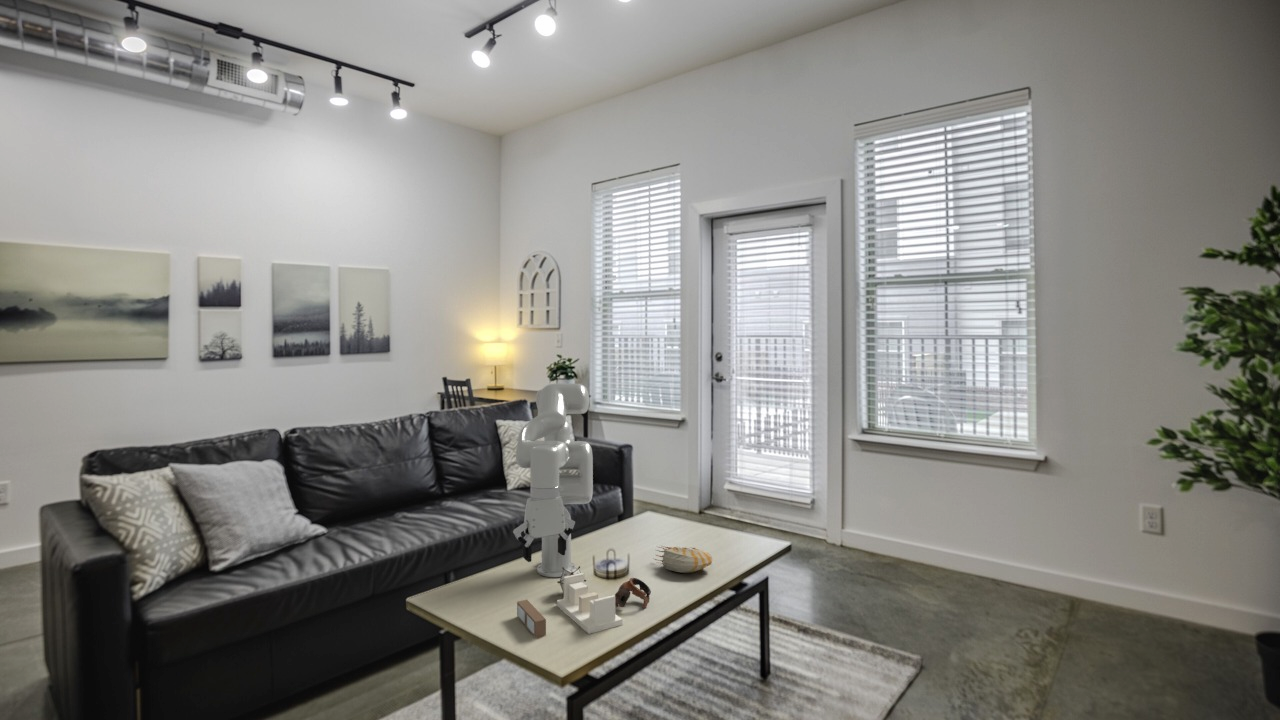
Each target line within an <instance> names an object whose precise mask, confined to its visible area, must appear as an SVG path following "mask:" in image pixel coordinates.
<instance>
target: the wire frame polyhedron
mask: <svg viewBox="0 0 1280 720" xmlns="http://www.w3.org/2000/svg"><path fill="white" fill-rule="evenodd" d="M562 569H563V573H562V576H561V577H560V578H559V581H557V582H556V583H557V584H559V585H560V587H561V590H562V592H563V595H562V597H563V598H564V577H566V576H570V575H575V574H580V573H582V572H581V571H580V569H581V566H580V565H579V566H578V567H577V568H576V569H564V567H562ZM587 581H588V580H586V579H584V583H585V582H587Z"/></svg>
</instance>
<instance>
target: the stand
mask: <svg viewBox="0 0 1280 720" xmlns="http://www.w3.org/2000/svg"><path fill="white" fill-rule="evenodd" d="M584 580H585V573H584V572H581V573H580V574H575V575H570V576H566V577H564V593H563V595H564V597H563V598H561V599H557V600H556V606H557V607H558V608H559V609H560V610H561V611H562V612H563V613H564V614H566V615H567V616H568V617H569V618H571V620H572V621H574V622H575V623H576V624H577V625H578V626H579V627H580V628H581V629H582V630H584V631H585V632H586V633H587V634H588V635H589V634H594V633H598V632H601V631H605V630H608V629H612V628H616V627H619V626H623V618H622V617H620V616H619V615H617V614H616V605H615V595H614V594H613V595H608V596H604V597H599V593H597V592H596V591H595V592H588V590H589V589H588V585H586V584H585V582H584Z"/></svg>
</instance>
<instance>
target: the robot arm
mask: <svg viewBox="0 0 1280 720" xmlns="http://www.w3.org/2000/svg"><path fill="white" fill-rule="evenodd" d="M535 403H536V408H537V416H535V417H533V418H532V419H531V420H530V421H528V422H527V423H526V424H525V425H524V426H523V427H522V428H521V430H520V432H519V434H518V438H517V444H516V449H515V450H516V451H515V461H516V463H517V465H518V466H519V467H520V468H523V469H530V497H527V499H526V504H525V508H524V509H525V510H524V518H523V519H524V520H523V523H520V525H519V526H517V527H516V528H514V529H513V531H512V533H513V535H514V537H515V538H516V540H517V541H518V542H519V543H520V544H521V545H522V557H523V559H524V560H525V561H526V562H528V563H531V562H532V546H531V544H532V542H533V541H534V539H540V538H541V563H540V564H539V565H537V567H536V573H538V574H539V575H540V576H543V577H548V578H561V576H562V573H563V569H562V567H564V569H577V566H576V564H575V563H573V562H572V532H573V529H574V527H575V524H576V521H575V520H573V519H572V518H571V514H570V512H569V511H568V508H566V507H565V505H585V504H588V503H590V502H591V501H592V499H593V492H594V491H593V490H594V484H593V483H594V480H593V479H594V477H593V475H594V471H593V470H594V465H593V464H594V461H593V460H594V457H593V449H592V446H591V445H590V443H589V442H587V441H583V440H582V441H580V440H579V441H578V440H576V441H575V440H573V441H572V440H571V424H570V423H569V422H568V421H567V415H568V414H569V415H575V414H576V415H579V414H580V415H581V414H586V413H587V412H588V410H589V407H590V394H589V392H588V389H587V387H586V386H585V385H583V384H581V383H550V384H547V385H546V386H544V387H542V388H541V389H539V390H538V391H537V392H536V394H535ZM542 438H544V440H541V439H542ZM560 471H577V472H578V473H579V474H566V473H565V474H560ZM522 532H523V533H524V535H525V536H522Z"/></svg>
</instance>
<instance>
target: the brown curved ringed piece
mask: <svg viewBox="0 0 1280 720" xmlns="http://www.w3.org/2000/svg"><path fill="white" fill-rule="evenodd" d="M637 586H639V588H638V587H637ZM651 592H652V591H651V588H650V586H648V585H647V584H646V583H645V582H644V581H643V580H641V579H639V578H636V577H630V578H629V579H628V580H627V581H625V582H623V583H622V584H621V585H620V586H619V588H618V590H617V591H616V592H615V595H614V596H615V608H616V607H619V608H620V607H621V608H625V607H626V603H627V601H628V600H629V599H630V597H631V594H632V595H634V596H635V597H637V598H640V599H641V600H643V603H642V605H641V607H642V609H646V607H647V606H648V604H649V603H650V598H651V597H650V595H651Z"/></svg>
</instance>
